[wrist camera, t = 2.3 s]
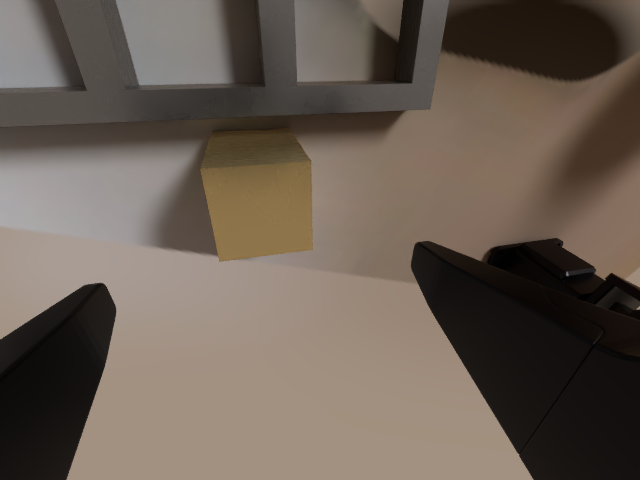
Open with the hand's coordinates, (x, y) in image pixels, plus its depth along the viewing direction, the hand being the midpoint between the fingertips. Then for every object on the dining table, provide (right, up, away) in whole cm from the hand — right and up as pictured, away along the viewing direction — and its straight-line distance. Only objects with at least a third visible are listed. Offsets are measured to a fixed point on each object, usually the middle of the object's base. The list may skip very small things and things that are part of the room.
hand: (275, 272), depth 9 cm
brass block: (-2, +5, +8) cm, 10 cm away
